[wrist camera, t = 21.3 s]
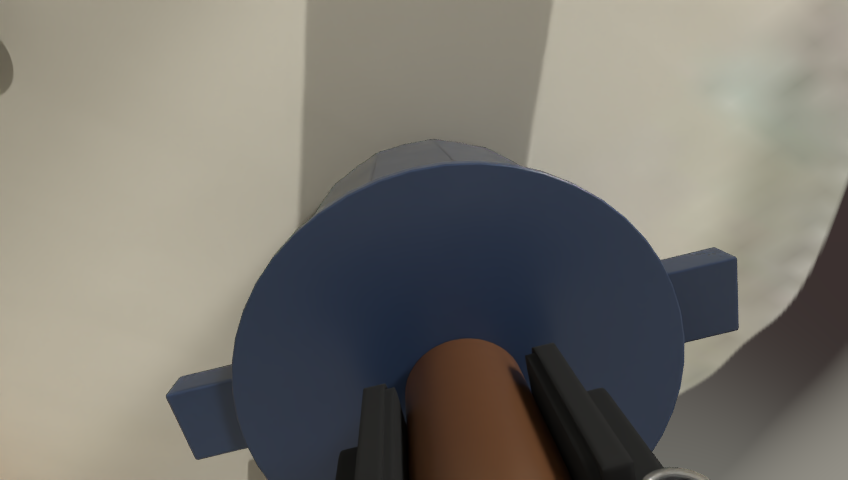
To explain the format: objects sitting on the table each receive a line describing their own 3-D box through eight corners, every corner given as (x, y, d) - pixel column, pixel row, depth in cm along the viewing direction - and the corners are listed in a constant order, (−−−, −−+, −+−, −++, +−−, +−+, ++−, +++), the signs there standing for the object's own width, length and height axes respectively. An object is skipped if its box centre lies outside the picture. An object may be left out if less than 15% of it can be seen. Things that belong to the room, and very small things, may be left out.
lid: (173, 221, 12) (-127, 391, 5) (646, 106, 12) (1001, 117, 5) (317, 566, 15) (259, 934, 9) (676, 480, 15) (901, 784, 8)
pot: (209, 191, 19) (75, 260, 11) (601, 96, 19) (754, 94, 11) (294, 413, 23) (240, 589, 15) (627, 333, 23) (758, 465, 14)
